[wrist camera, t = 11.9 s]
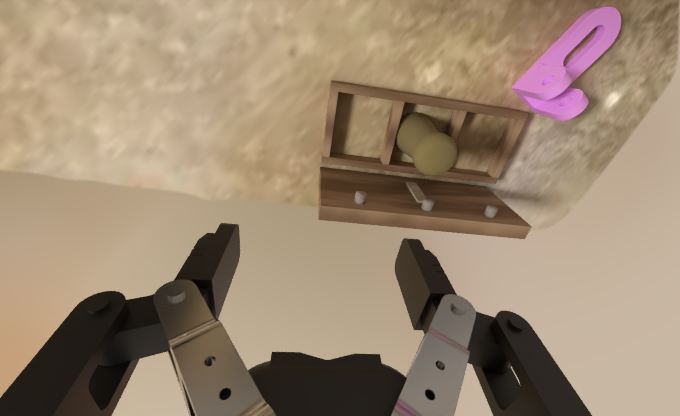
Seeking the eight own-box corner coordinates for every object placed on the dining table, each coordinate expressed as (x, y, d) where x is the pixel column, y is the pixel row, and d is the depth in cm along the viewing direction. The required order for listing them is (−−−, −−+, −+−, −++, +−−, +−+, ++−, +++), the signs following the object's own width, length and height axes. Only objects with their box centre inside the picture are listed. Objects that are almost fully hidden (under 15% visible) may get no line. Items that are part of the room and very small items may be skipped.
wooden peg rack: (331, 80, 37) (335, 94, 27) (520, 110, 41) (587, 133, 31) (319, 178, 44) (318, 219, 34) (480, 196, 48) (524, 238, 38)
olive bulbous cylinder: (429, 106, 40) (464, 126, 30) (435, 145, 43) (467, 174, 33) (388, 119, 40) (409, 143, 31) (396, 157, 43) (418, 189, 34)
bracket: (532, 111, 41) (568, 123, 35) (510, 87, 39) (545, 95, 33) (618, 29, 36) (677, 26, 30) (598, -4, 34) (657, -14, 28)
